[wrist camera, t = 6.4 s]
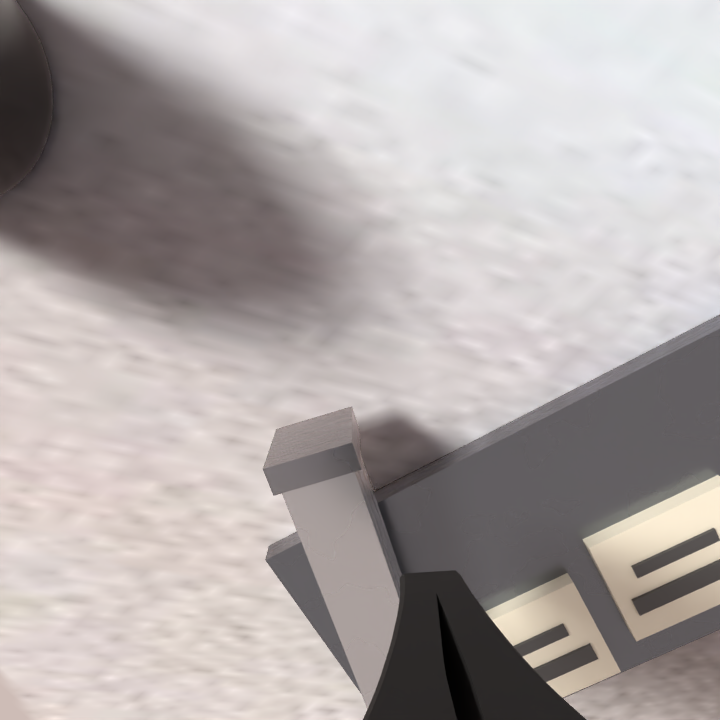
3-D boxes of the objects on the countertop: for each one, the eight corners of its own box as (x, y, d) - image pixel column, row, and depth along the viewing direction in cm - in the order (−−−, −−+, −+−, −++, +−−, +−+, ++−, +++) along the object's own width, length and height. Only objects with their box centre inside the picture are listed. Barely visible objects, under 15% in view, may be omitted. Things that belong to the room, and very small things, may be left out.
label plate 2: (718, 475, 18) (730, 483, 17) (758, 573, 19) (771, 584, 18) (582, 539, 18) (590, 550, 18) (629, 631, 19) (638, 643, 19)
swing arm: (466, 728, 19) (486, 812, 17) (393, 747, 19) (400, 833, 17) (358, 404, 16) (359, 443, 13) (270, 431, 16) (254, 475, 13)
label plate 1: (567, 572, 19) (574, 584, 18) (614, 660, 20) (622, 674, 19) (442, 631, 19) (445, 644, 19) (495, 713, 20) (499, 728, 20)
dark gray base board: (740, 303, 17) (774, 311, 16) (832, 556, 20) (868, 582, 18) (268, 546, 19) (262, 571, 18) (410, 745, 22) (413, 780, 20)
